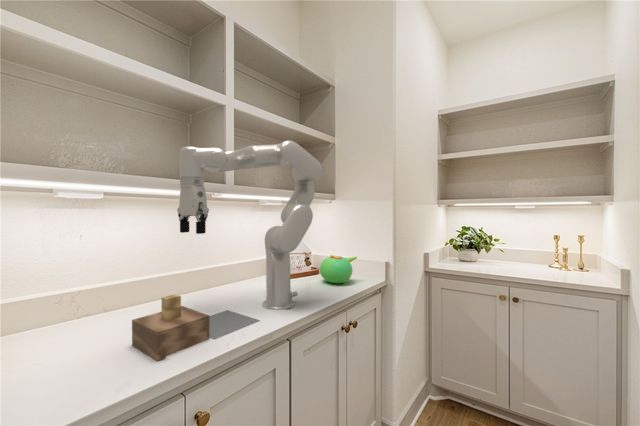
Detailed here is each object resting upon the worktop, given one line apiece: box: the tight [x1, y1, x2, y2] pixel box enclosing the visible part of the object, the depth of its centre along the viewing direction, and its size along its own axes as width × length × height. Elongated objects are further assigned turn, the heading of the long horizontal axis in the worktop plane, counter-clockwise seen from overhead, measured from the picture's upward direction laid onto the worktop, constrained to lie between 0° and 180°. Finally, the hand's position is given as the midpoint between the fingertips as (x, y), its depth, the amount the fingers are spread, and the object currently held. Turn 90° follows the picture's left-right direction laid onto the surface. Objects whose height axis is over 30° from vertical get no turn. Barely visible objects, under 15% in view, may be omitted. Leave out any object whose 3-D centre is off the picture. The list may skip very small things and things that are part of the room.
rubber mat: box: [209, 309, 262, 340], centre depth 97 cm, size 18×18×1 cm
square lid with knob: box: [131, 293, 210, 362], centre depth 84 cm, size 15×15×13 cm
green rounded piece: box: [319, 254, 358, 284], centre depth 154 cm, size 18×17×15 cm
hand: (192, 232), depth 101 cm, fingers open, 9 cm apart
